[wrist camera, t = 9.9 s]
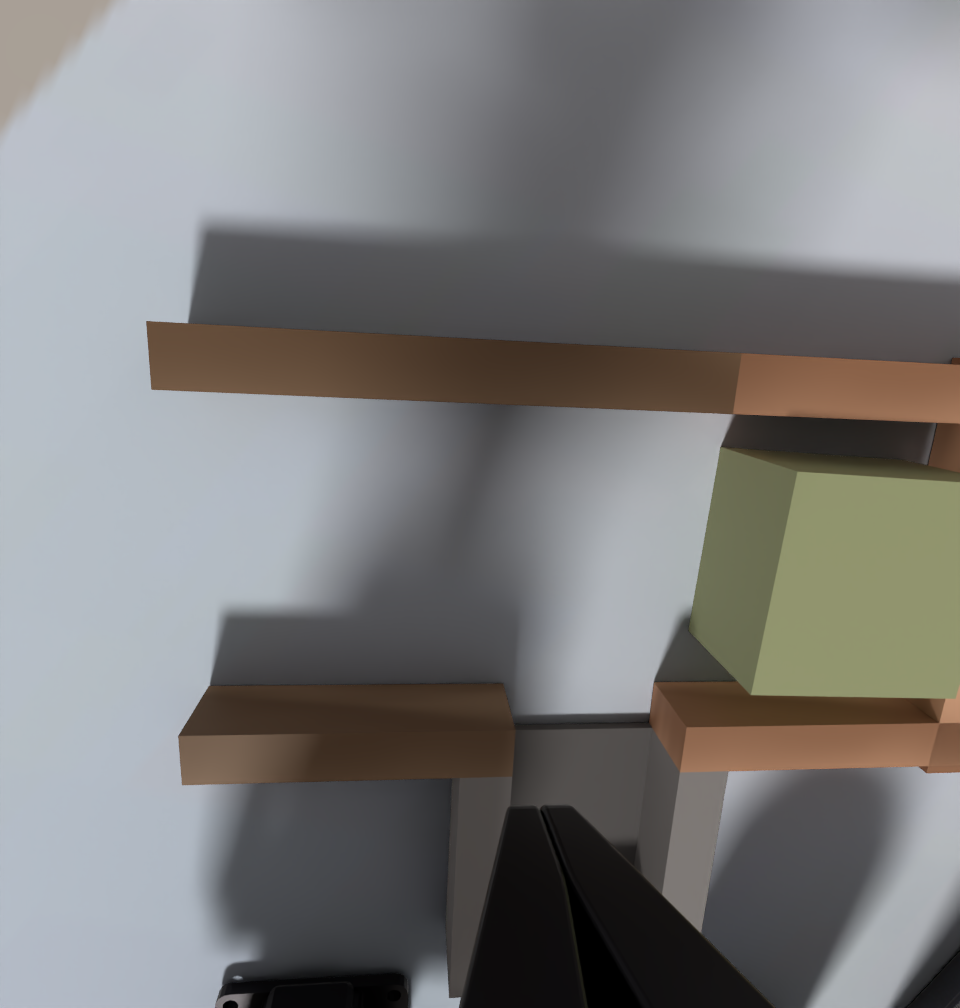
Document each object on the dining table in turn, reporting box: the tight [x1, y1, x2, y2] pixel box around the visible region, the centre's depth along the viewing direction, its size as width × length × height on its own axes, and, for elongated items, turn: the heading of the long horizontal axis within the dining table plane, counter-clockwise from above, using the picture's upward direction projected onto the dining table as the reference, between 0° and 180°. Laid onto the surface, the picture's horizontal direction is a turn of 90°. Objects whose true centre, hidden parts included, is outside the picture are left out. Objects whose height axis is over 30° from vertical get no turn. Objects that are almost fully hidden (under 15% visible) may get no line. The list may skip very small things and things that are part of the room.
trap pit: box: [445, 723, 728, 998], centre depth 20 cm, size 8×8×2 cm
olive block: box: [688, 447, 960, 699], centre depth 18 cm, size 6×6×4 cm
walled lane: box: [146, 321, 960, 785], centre depth 18 cm, size 12×24×2 cm, turn 87°
